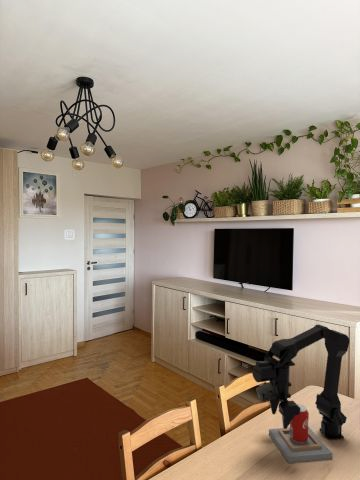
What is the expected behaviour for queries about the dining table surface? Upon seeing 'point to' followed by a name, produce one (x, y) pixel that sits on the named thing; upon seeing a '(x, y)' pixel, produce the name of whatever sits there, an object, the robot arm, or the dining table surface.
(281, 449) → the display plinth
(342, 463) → the dining table surface
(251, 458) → the dining table surface
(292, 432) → the beverage can
